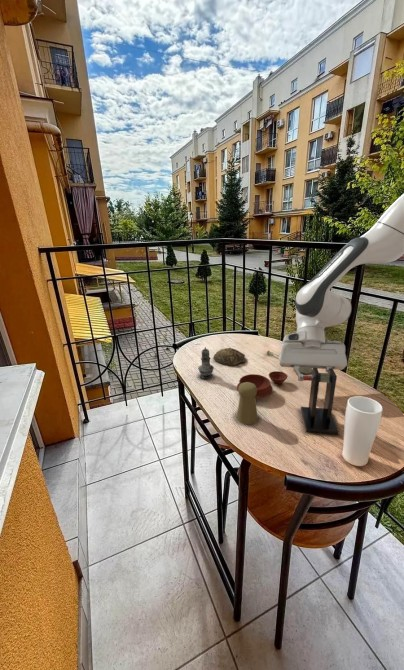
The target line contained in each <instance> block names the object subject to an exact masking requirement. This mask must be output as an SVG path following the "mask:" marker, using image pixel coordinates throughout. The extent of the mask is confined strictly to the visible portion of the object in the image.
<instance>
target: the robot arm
mask: <svg viewBox="0 0 404 670" xmlns="http://www.w3.org/2000/svg"><path fill="white" fill-rule="evenodd" d="M403 255H404V193H403V194H401V195H400V196H399V197H398V198H397V199H396V200H395V201H394V202H393V203H392V204H391V205H390V206H389V207H388V209H386V210H385V211H384V212H383V214H382V215H381V216H380V217H379V218H378V220H377V221H376V222H375V224H374V225H373V226H372V227H371V228H370V229H369V230H368V231H366V232H365V233H364V234H362V235H361V236H359V237H355V238H353V239H351V240H350V241H348V242H347V243H346V244H345V245H344V246H343V247H342V248H341V249H340V250H339V251H337V253H336V254H335V255H334V256H332V258H331V259H330V260H329V261H328V262H327V263H326V264H325V265H324V267H322V268H321V269H320V271H318V272H317V273H316V274H315V275H314V277H312V278H311V280H309V281H308V282H306V283H305V284H304V285H303V286H301V287H300V288H299V289H298V291H297V292H296V294H295V298H294V304H295V323H296V327H297V328H296V331H295V332H293V333H288V334H286V335H284V337H283V339H282V345H281V348H280V350H279V351H280V352H279V355H280V357H279V358H278V365H279V366H280V367H282V368H293V372H294V373H295V375H296V376H297V381H298V382H304V380H303V376H304V373H301V372H300V371H298V370H299V368H312V369H313V367H314V368H317V369H319V370H324V371H325V373H328V370H329V368H333V370H337V371H338V370H340V371H342V370H344V369H345V368H346V367H347V366H348V360H347V355H346V345H345V344H344V343H343V342H341V341H339V340H336V341H335V340H326V333H325V329H326V328H332V327H337V326H340V325H342V324H344V323H345V322H347V321H348V320H349V319H350V317H351V315H352V309H353V307H352V306H353V305H352V302H351V301H350V299H348V298H346V297H344V296H343V295H340V294H339V293H336V292H334V291H332V290H331V289H332V288H333V287H335V285H336V284H337V283H338V282H339V281H340V280H341V279H342V278H343V277H344V276H345V275H346V274H347V273H348V272H349V271H350V270H351V269H353V268H355V267H357V266H359V265H360V266H361V265H367V264H368V265H369V264H371V265H383V264H384V265H385V264H390V263H392V262H395V261H397V260H398V259H400V258H401V257H402V256H403Z"/></svg>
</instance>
